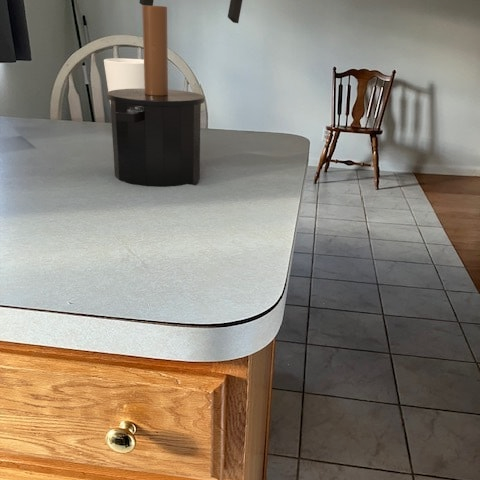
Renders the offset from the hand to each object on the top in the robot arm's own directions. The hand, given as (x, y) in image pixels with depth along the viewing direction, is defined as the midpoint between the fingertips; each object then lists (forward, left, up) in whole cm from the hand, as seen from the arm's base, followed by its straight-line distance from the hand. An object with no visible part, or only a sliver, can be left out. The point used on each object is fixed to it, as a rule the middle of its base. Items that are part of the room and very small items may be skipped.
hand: (188, 13), depth 77 cm
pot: (+1, -13, -21) cm, 25 cm away
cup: (-17, +15, -21) cm, 31 cm away
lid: (+1, -13, -10) cm, 17 cm away
